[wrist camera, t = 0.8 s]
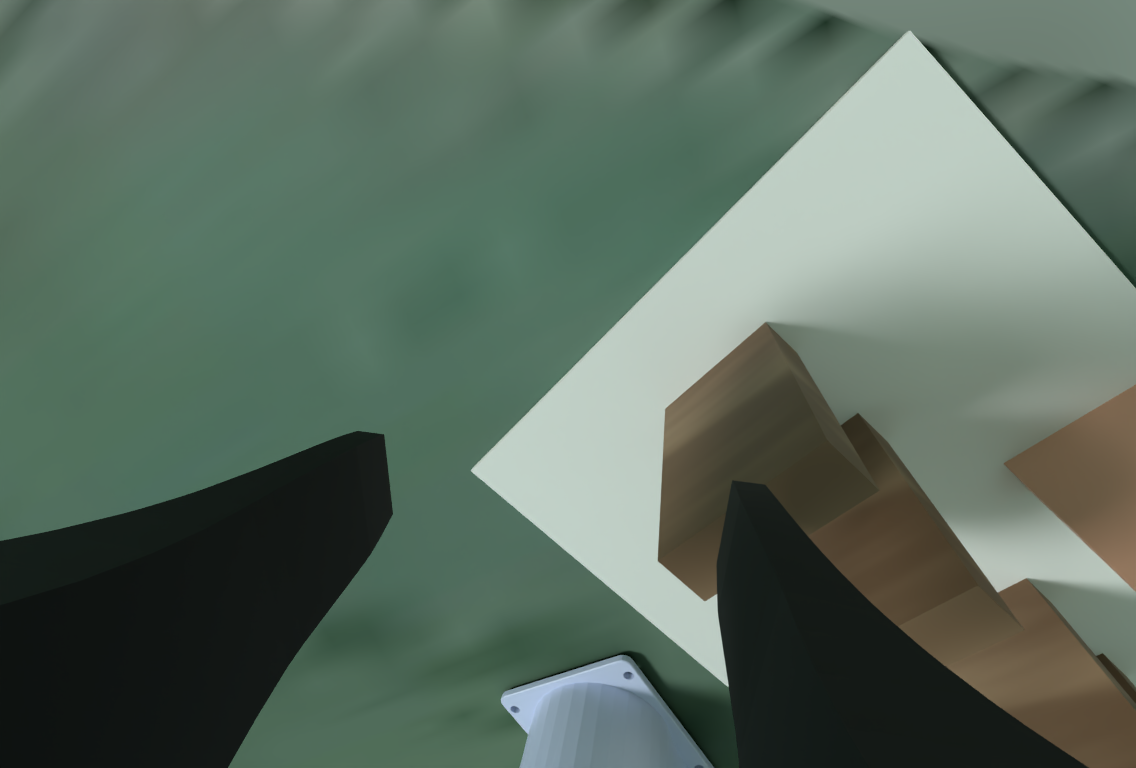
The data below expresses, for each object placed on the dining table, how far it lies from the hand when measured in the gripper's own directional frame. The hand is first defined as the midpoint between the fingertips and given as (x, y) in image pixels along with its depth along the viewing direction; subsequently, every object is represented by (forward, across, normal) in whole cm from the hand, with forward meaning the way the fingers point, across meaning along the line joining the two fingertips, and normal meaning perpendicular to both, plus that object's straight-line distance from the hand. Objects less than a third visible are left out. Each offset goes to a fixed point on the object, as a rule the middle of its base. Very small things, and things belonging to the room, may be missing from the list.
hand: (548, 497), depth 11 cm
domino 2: (+10, -8, +4) cm, 14 cm away
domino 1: (+10, -4, +1) cm, 11 cm away
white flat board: (+10, -12, +7) cm, 17 cm away
